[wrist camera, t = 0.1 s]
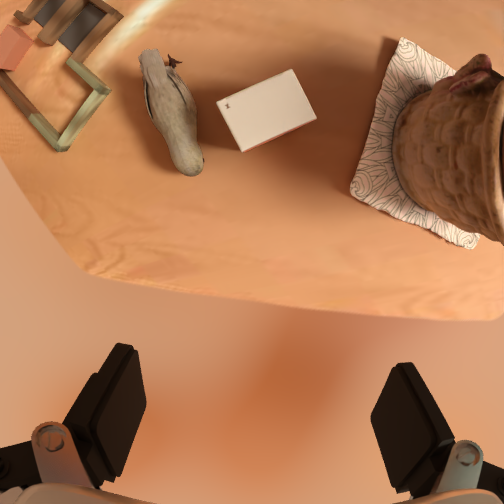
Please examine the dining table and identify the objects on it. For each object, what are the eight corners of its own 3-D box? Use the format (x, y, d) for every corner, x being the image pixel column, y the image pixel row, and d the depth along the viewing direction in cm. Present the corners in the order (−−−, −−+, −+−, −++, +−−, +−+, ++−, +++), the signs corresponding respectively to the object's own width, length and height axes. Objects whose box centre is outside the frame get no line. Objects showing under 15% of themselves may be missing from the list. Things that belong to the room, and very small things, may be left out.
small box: (245, 152, 37) (240, 154, 27) (225, 113, 36) (213, 102, 26) (303, 126, 36) (319, 119, 26) (283, 87, 34) (292, 67, 24)
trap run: (58, -27, 26) (51, -31, 23) (156, 40, 32) (150, 35, 30) (-9, 63, 31) (-18, 62, 28) (67, 151, 37) (57, 152, 35)
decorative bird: (180, 180, 39) (163, 188, 32) (145, 71, 34) (123, 58, 27) (219, 166, 38) (210, 171, 31) (182, 55, 33) (167, 38, 26)
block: (21, 28, 29) (7, 24, 26) (34, 41, 31) (20, 36, 27) (2, 57, 31) (-12, 54, 27) (15, 70, 32) (0, 68, 28)
